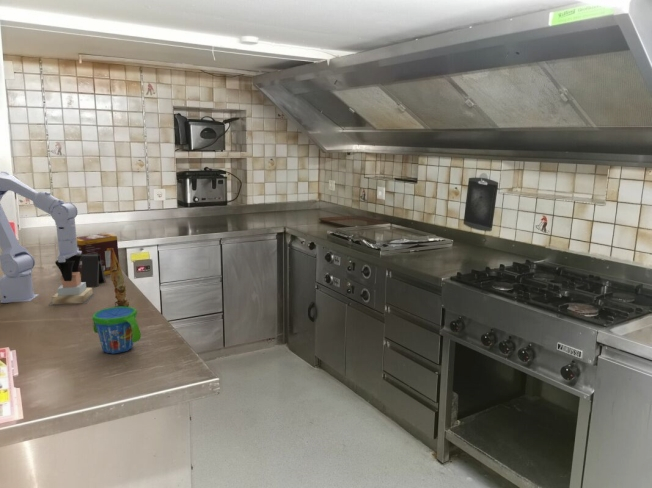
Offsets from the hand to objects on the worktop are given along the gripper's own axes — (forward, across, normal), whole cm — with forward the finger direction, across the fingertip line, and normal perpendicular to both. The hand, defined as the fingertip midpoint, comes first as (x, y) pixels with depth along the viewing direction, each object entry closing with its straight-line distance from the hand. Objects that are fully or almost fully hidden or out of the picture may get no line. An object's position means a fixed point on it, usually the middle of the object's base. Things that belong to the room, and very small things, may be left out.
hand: (71, 278), depth 178 cm
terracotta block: (+2, 0, 0) cm, 2 cm away
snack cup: (+8, -47, -26) cm, 54 cm away
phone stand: (+8, +20, -1) cm, 22 cm away
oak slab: (+7, 0, 0) cm, 7 cm away
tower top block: (+5, 0, 0) cm, 5 cm away
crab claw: (+8, -9, -18) cm, 22 cm away
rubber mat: (+8, 0, 0) cm, 8 cm away
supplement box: (+8, +39, +3) cm, 40 cm away
